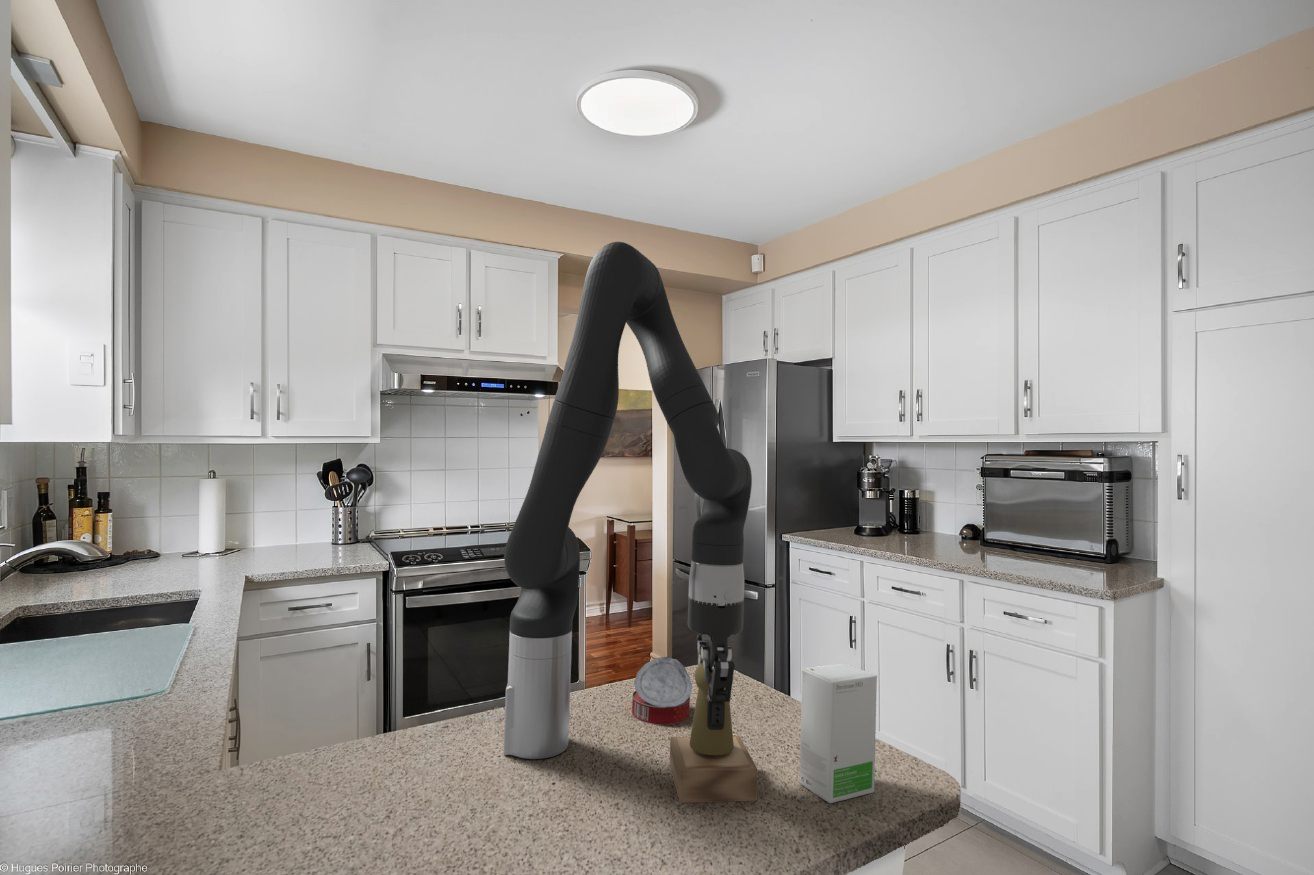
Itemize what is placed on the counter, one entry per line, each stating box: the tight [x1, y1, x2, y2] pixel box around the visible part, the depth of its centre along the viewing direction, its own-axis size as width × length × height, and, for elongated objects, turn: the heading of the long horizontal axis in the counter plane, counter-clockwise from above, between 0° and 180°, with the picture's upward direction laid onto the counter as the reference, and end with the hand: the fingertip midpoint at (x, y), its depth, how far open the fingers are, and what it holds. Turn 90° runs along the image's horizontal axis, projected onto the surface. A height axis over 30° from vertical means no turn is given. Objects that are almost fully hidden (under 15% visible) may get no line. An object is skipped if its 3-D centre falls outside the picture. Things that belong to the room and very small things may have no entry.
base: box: [669, 735, 759, 804], centre depth 90 cm, size 10×10×4 cm
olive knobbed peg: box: [689, 663, 734, 755], centre depth 91 cm, size 6×6×11 cm
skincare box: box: [798, 663, 878, 804], centre depth 90 cm, size 8×7×16 cm
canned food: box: [631, 656, 693, 726], centre depth 114 cm, size 11×10×10 cm
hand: (712, 721), depth 90 cm, fingers closed on olive knobbed peg, 4 cm apart
